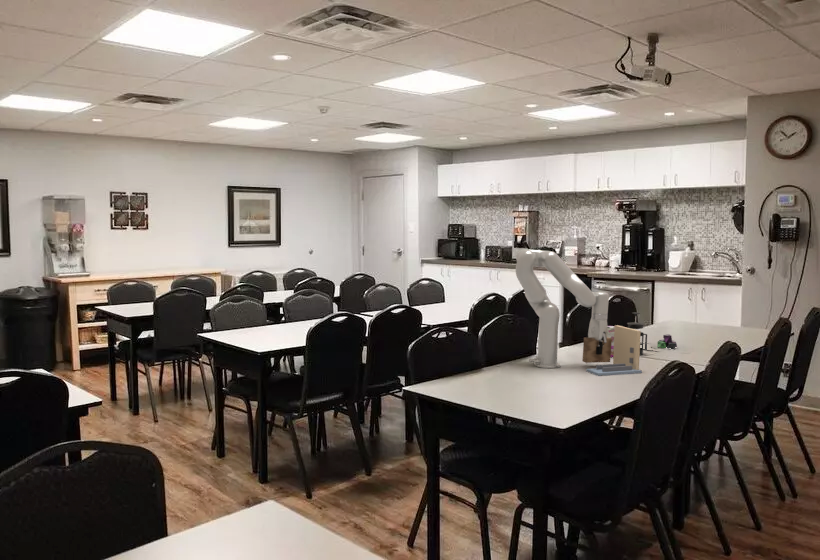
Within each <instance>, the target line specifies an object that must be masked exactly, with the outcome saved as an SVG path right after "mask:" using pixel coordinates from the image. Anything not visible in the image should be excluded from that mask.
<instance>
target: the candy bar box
mask: <svg viewBox="0 0 820 560" xmlns="http://www.w3.org/2000/svg"><path fill="white" fill-rule="evenodd" d="M614 329H615V325H614V326H613V325H607V337H609V338H612V343H611V356H610V358H612V357H613V355H614Z"/></svg>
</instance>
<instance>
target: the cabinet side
mask: <svg viewBox="0 0 820 560" xmlns="http://www.w3.org/2000/svg"><path fill="white" fill-rule="evenodd" d="M614 326H615V329H614V355H613V359H612V362H613V363H611V364H610V363H609V364H596V365H595V368H586V369H585V371H586V372H587V371H588V372H587V373H589V372H590V373H589V374H592V373H593V374H592V375H595V376H597V375H598V377H601V375H604V376H617V375H619V376H620V375H632V374H633V373H634V374H642V373H643V371H642V370H641V369H640V357H641V356H640V342H641V336H640V333H641V332H642V331H641V330H640V329H636V330H635V329H633V328H629V327H628V326H627V327H625V326H623V325H618V324H617V325H616V324H615V325H614ZM634 374H633V375H634Z"/></svg>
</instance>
